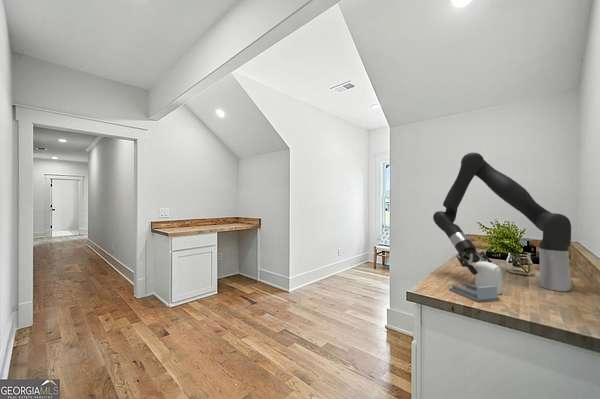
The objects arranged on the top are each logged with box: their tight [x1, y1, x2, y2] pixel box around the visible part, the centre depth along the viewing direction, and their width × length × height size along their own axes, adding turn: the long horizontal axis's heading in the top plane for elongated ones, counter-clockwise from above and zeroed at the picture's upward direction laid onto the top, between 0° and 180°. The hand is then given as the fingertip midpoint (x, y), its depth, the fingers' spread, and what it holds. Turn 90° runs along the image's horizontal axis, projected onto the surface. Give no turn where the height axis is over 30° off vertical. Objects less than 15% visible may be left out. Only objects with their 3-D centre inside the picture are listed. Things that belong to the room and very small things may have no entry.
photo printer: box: [474, 261, 503, 295], centre depth 109 cm, size 10×4×12 cm, turn 13°
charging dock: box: [449, 283, 500, 303], centre depth 104 cm, size 10×14×6 cm
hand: (484, 273), depth 111 cm, fingers open, 8 cm apart
